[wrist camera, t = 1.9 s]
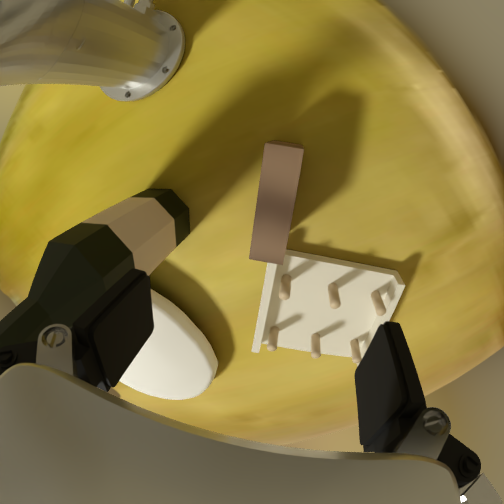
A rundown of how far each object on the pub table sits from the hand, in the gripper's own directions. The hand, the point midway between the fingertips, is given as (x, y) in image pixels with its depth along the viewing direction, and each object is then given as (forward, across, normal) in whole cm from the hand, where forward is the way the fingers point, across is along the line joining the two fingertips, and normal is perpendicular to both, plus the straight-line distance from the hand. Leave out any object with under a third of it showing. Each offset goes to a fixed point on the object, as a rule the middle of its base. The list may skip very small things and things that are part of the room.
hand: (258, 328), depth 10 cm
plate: (+22, +20, +27) cm, 40 cm away
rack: (+22, -7, +13) cm, 26 cm away
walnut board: (+21, +1, -1) cm, 21 cm away
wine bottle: (+21, +15, +5) cm, 26 cm away
